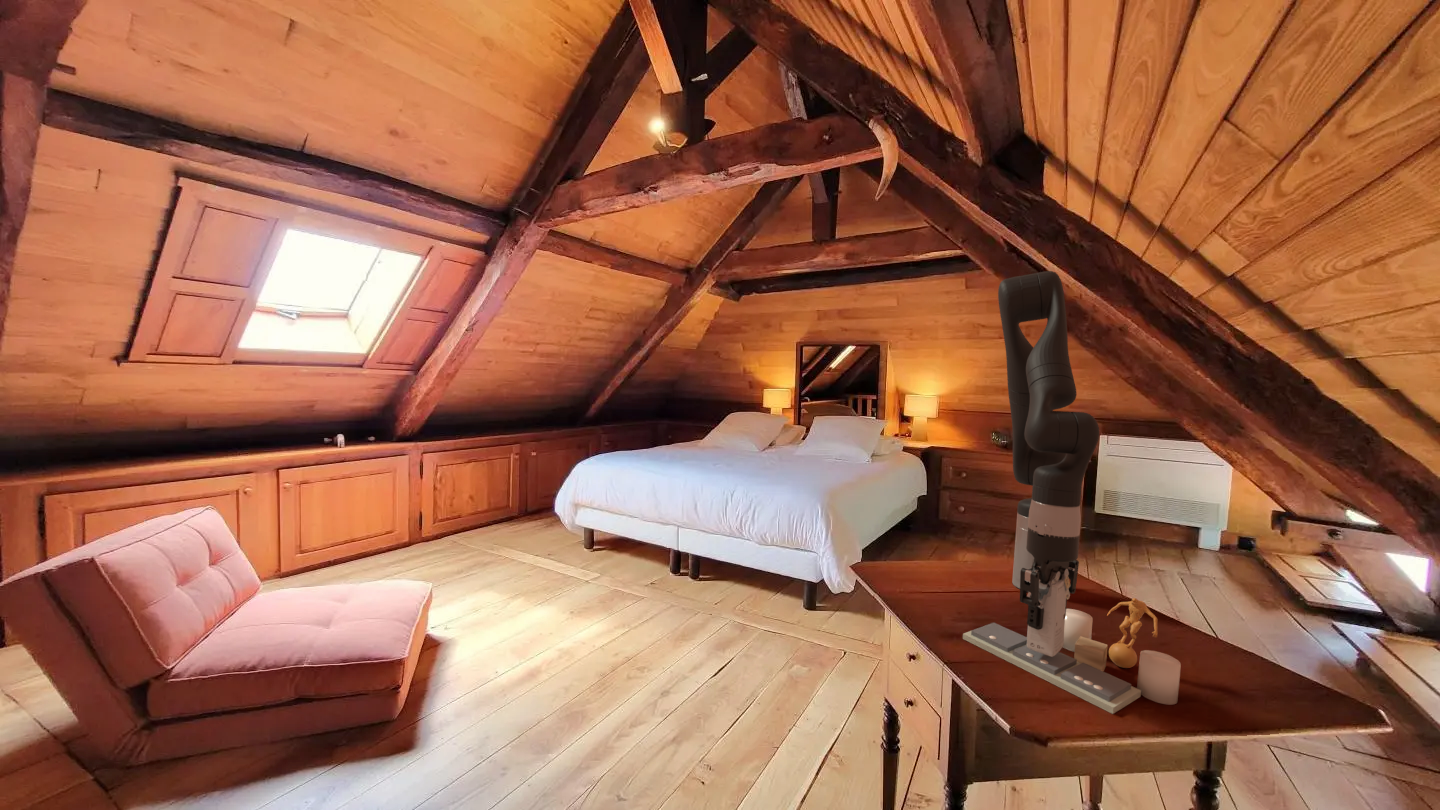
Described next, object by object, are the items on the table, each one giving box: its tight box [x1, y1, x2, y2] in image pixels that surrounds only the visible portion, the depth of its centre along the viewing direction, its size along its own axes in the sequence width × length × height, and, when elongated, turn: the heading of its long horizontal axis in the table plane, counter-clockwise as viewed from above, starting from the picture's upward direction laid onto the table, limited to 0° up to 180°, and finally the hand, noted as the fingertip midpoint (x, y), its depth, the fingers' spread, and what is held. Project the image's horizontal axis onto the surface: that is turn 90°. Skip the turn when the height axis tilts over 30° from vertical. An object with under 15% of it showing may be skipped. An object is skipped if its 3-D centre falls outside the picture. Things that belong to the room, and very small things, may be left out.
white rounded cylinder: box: [1062, 608, 1093, 652], centre depth 100 cm, size 5×5×6 cm
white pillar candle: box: [1136, 649, 1182, 706], centre depth 86 cm, size 5×5×6 cm
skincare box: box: [1026, 580, 1067, 657], centre depth 93 cm, size 6×4×12 cm
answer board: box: [962, 622, 1142, 715], centre depth 93 cm, size 9×25×2 cm, turn 31°
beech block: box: [1073, 636, 1109, 672], centre depth 94 cm, size 4×4×4 cm
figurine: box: [1106, 597, 1159, 669], centre depth 94 cm, size 8×6×12 cm
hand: (1046, 622), depth 93 cm, fingers closed on skincare box, 6 cm apart
